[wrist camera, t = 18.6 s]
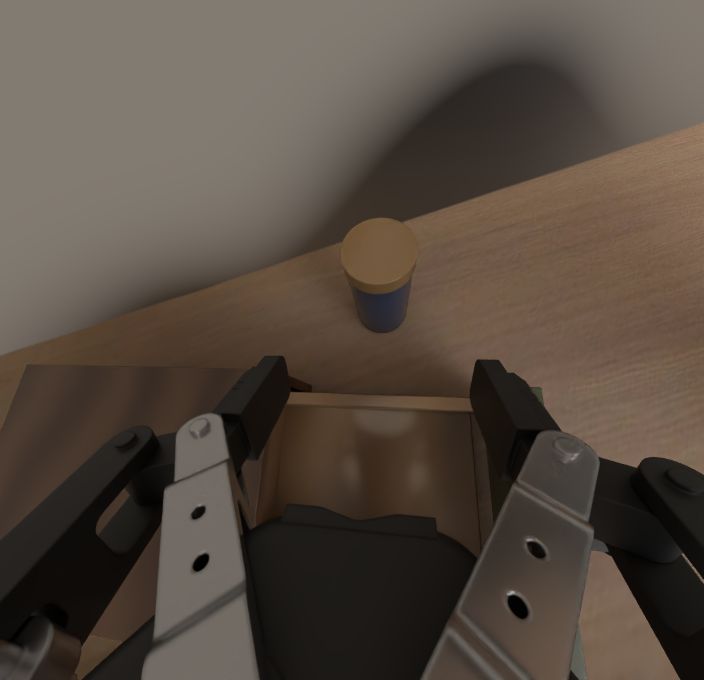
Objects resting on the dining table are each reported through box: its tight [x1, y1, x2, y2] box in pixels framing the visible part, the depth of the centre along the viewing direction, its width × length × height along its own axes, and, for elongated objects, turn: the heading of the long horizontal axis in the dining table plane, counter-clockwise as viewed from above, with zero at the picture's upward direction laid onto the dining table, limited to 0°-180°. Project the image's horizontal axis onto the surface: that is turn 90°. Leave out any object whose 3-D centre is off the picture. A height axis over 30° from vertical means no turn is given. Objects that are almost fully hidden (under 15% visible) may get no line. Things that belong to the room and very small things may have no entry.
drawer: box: [260, 387, 611, 680], centre depth 18 cm, size 23×13×7 cm, turn 88°
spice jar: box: [340, 218, 418, 333], centre depth 22 cm, size 5×5×10 cm
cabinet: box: [0, 365, 311, 642], centre depth 20 cm, size 20×15×9 cm
